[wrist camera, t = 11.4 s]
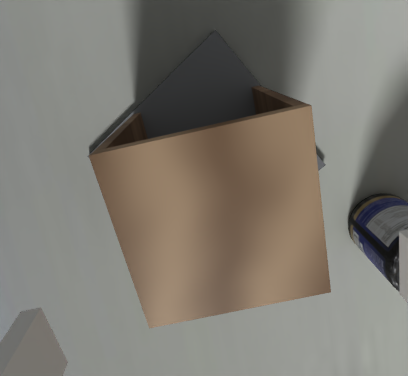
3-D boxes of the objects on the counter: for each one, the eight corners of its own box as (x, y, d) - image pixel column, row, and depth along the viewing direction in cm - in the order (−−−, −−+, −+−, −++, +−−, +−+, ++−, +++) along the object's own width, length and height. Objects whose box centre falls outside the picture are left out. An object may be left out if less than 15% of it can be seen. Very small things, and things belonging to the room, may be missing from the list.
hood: (165, 225, 32) (149, 328, 20) (133, 114, 29) (88, 155, 16) (276, 201, 32) (330, 292, 20) (258, 85, 28) (311, 105, 16)
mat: (89, 154, 30) (87, 156, 30) (214, 30, 27) (215, 29, 27) (202, 259, 35) (203, 263, 34) (323, 163, 31) (325, 164, 31)
